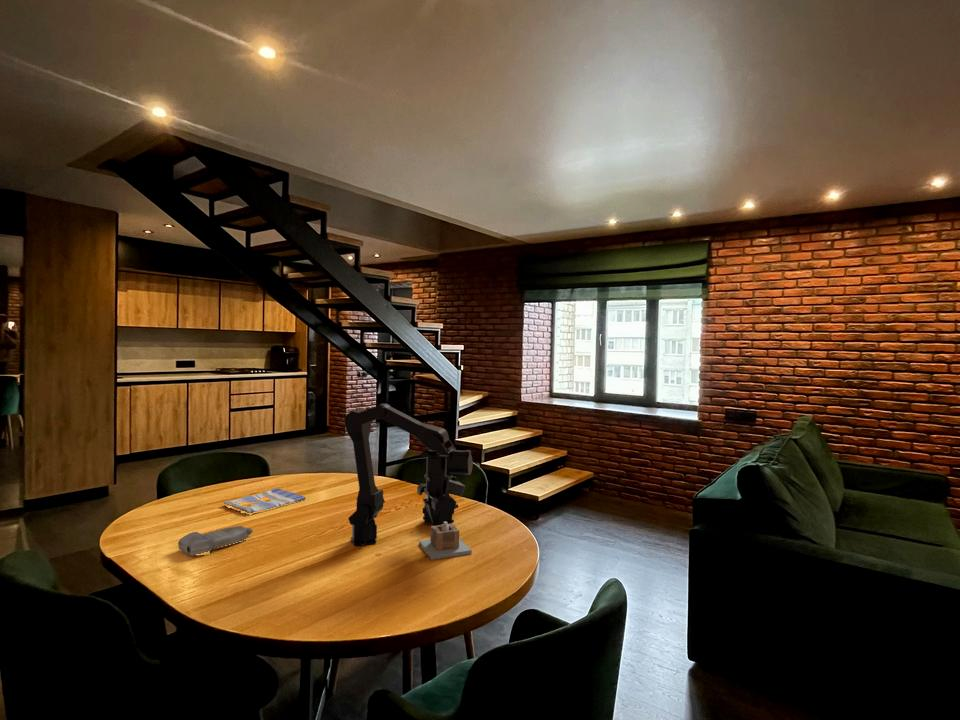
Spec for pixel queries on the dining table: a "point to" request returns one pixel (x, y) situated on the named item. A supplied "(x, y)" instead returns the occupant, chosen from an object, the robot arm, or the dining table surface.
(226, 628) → the dining table surface
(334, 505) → the dining table surface
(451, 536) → the hollow square sleeve
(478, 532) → the dining table surface
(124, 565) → the dining table surface
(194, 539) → the handheld device
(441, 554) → the grey peg base
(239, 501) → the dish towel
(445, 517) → the toy
